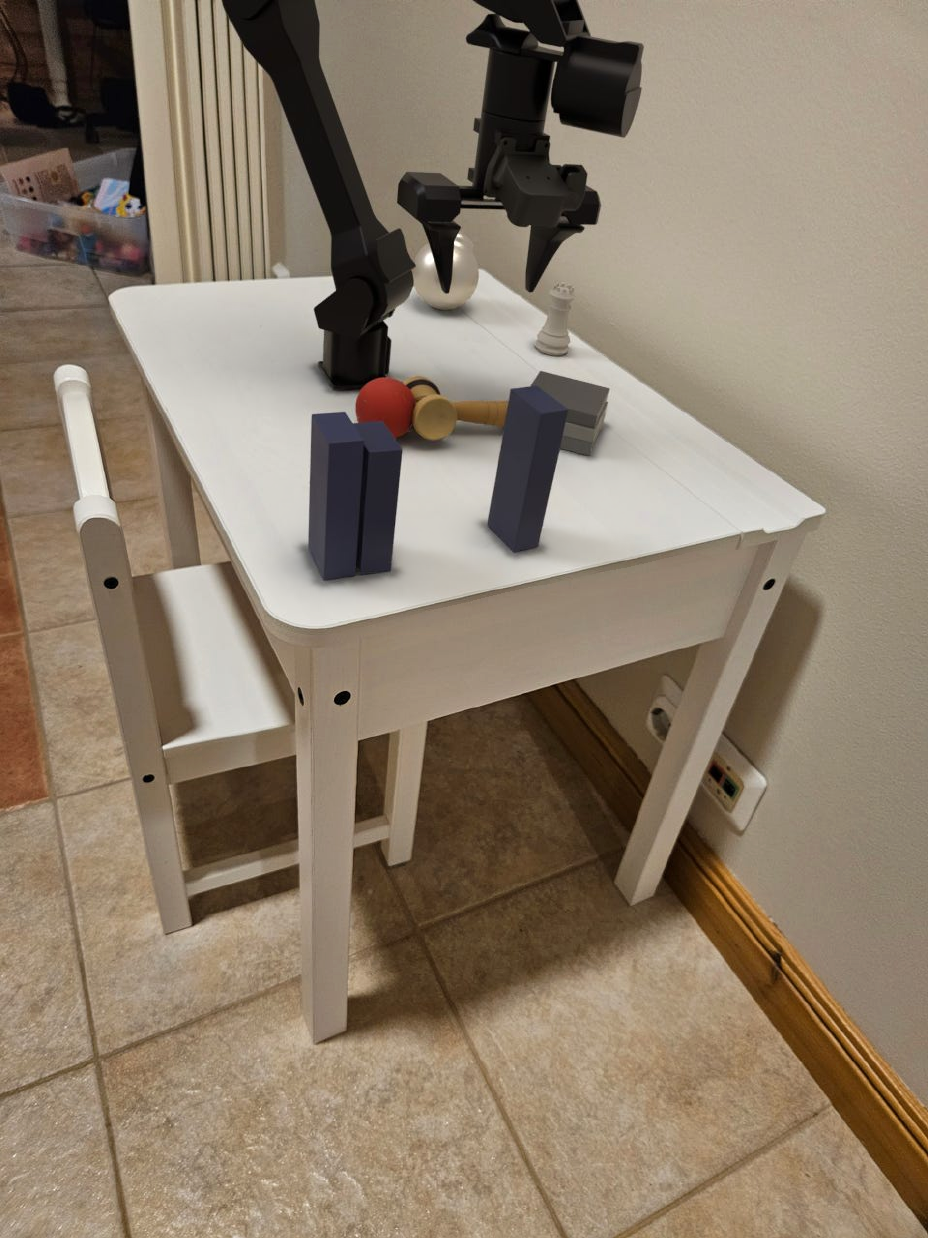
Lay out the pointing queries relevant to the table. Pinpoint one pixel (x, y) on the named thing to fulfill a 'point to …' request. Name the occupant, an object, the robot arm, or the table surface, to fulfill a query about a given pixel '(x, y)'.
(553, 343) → the rook chess piece
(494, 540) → the table surface
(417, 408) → the kendama
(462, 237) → the baroque pearl
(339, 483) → the navy books
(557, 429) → the navy book
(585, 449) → the grey books
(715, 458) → the table surface
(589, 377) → the table surface
